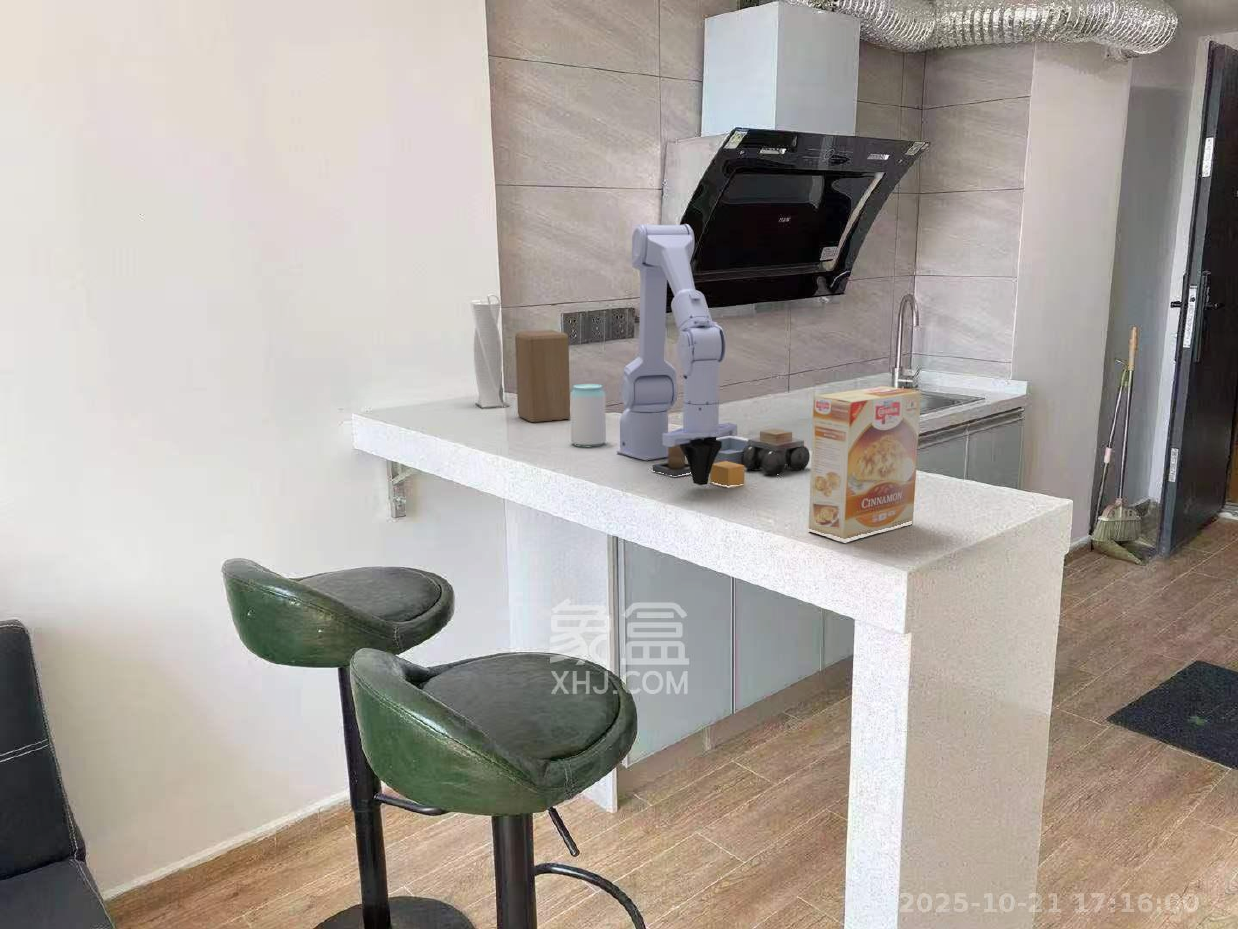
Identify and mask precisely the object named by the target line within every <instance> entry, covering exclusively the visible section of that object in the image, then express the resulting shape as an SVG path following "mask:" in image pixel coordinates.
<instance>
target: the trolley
mask: <svg viewBox="0 0 1238 929" xmlns="http://www.w3.org/2000/svg"><path fill="white" fill-rule="evenodd" d="M747 441H748V446H746V447H745V448H744V450H743V451H742V454H741V463H742V465H744V469H748V470H752V471H757V470H756V469H759V470H760V469H761V470H762V471H763V472H764V473H765V474H768V475H772V476H778V475H777V474H779V475H781V474H782V473H783V472H784V471H785V468H786V467H788V468H789V469H791V470H796V471H803V470H805V468H807V466H808V465H809V462H810V460H811V459H810V458H811V456H810V455H811V454H810V450H809V448H808V447H806V446H805V439H801V438H800V439H798V438H794V437H793V431H789V430H785V429H780V428H772V429H771V428H770V429H765V430H760V431H759V436H758V437H754V438H748V439H747ZM763 448H764V449H766V450H764V449H763Z"/></svg>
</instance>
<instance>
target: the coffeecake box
mask: <svg viewBox="0 0 1238 929" xmlns="http://www.w3.org/2000/svg"><path fill="white" fill-rule="evenodd" d="M921 401H922V391H920V390H913V389H908V388H900V387H893V386H892V387H891V386H886V385H883V386H878V387H877V386H876V387H872V388H864V389H862V388H861V389H856V390H849V391H847V390H846V391H841V392H831V393H826V394H819V395H818V394H817V395H814V396H813V411H812V412H813V414H812V433H811V434H812V435H811V436H812V437H811V456H810V458H811V459H810V462H811V464H810V482H809V508H808V509H809V511H808V528H809V529H812V530H815V531H818V532H821V533H824V534H831V535H833V536H837V537H840V538H843V539H847V538H851V537H854V536H858V535H861V534H867V533H871V532H874V531H878V530H882V529H885V528H891V527H894V526H897V525H901V524H903V523H906V522H909V521H913V522H914V511H915V510H914V509H915V508H914V507H915V494H916V479H917V477H916V476H917V466H918V464H917V463H918V462H917V461H918V448H919V434H920V419H921V417H920V416H921V404H922V402H921ZM808 528H807V529H808Z"/></svg>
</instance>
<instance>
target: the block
mask: <svg viewBox="0 0 1238 929" xmlns="http://www.w3.org/2000/svg"><path fill="white" fill-rule="evenodd" d="M514 340H515V341H514V342H515V343H514V344H515V370H516V374H515V375H516V397H517V398H516V402H517V405H516V406H517V414H518V417H519V418H521V419H523V420H526V421H527V422H531V423H533V422H536V423H542V422H541V421H547V422H553V421H552V420H558V421H564V420H563V419H567V420H568V419H571V406H570V394H571V390H570V384H571V383H570V350H569V349H570V347H569V346H570V345H569V342H570V341H569V335H568V333H566V332H562V331H558V330H553V329H552V330H551V329H550V330H548V329H547V330H530V331H525V330H524V331H518V332H516V333H515V337H514Z"/></svg>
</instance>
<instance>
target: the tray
mask: <svg viewBox="0 0 1238 929" xmlns="http://www.w3.org/2000/svg"><path fill="white" fill-rule="evenodd" d="M716 440H718V441H721V442H722V448H721V449H720V451H719V452H718V454H717V456H716V458H715V460H714V462H713V463H718V462H724V461H728V462H732V463H736V464H740V465H742V463H741V454H742V451H743V450H744V448H745V447H746V446H748V440H746V439H742V438H737V437H734V436H726V437H720V438H716ZM763 449H764V448H763ZM764 450H766V449H764Z"/></svg>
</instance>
